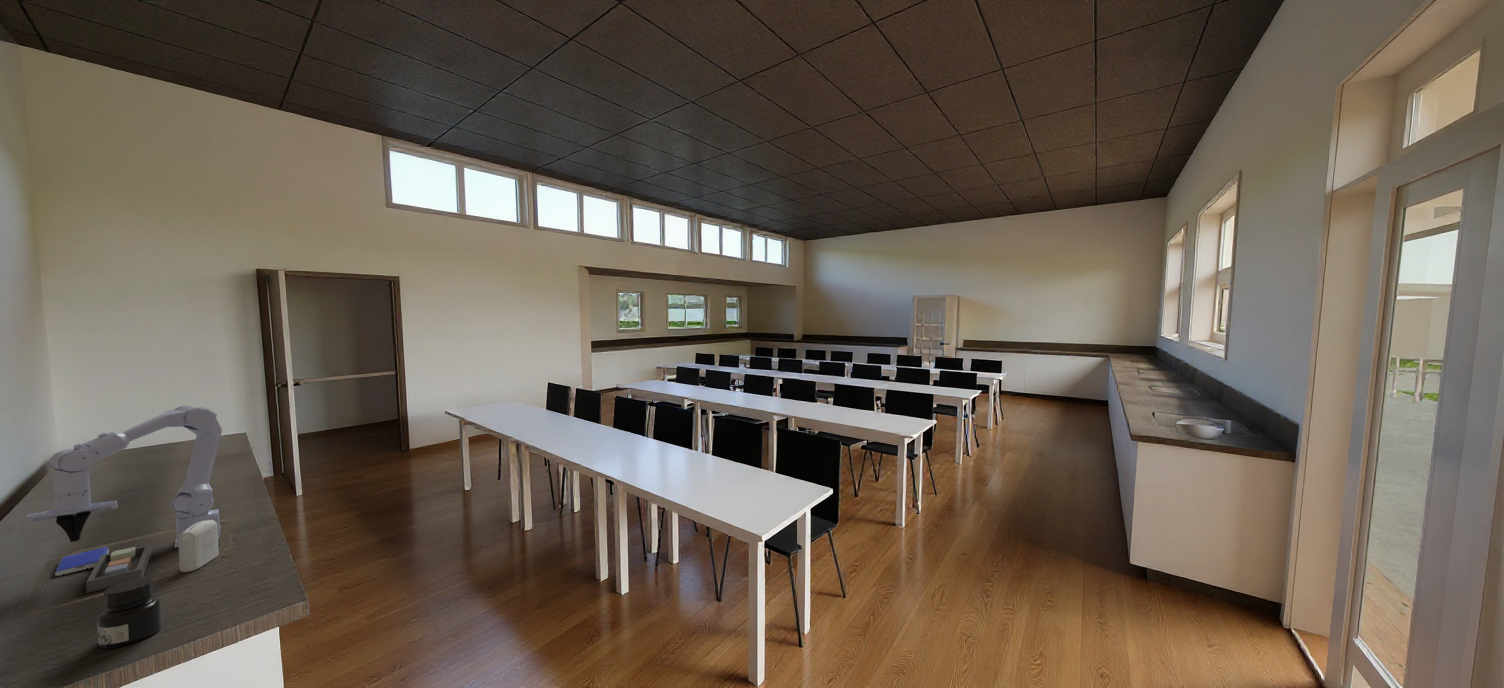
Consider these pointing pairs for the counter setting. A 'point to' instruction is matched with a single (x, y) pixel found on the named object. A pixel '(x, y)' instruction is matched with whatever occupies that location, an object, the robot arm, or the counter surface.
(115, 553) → the sage key
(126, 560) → the terracotta key
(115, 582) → the dark grey tray
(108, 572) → the slate key
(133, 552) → the cream key
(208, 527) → the photo printer
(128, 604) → the ink bottle
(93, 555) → the hard drive
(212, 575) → the counter surface
